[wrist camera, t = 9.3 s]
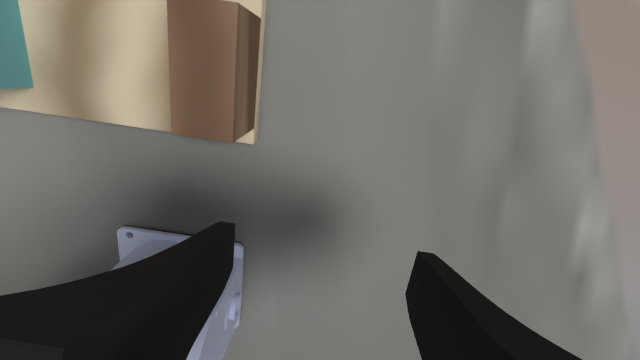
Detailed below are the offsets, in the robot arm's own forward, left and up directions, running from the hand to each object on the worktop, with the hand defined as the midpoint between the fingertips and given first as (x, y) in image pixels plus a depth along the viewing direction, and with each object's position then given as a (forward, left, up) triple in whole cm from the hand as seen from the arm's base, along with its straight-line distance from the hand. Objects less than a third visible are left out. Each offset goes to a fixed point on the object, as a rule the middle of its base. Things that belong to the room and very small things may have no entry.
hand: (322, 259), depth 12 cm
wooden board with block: (+15, -6, -9) cm, 19 cm away
